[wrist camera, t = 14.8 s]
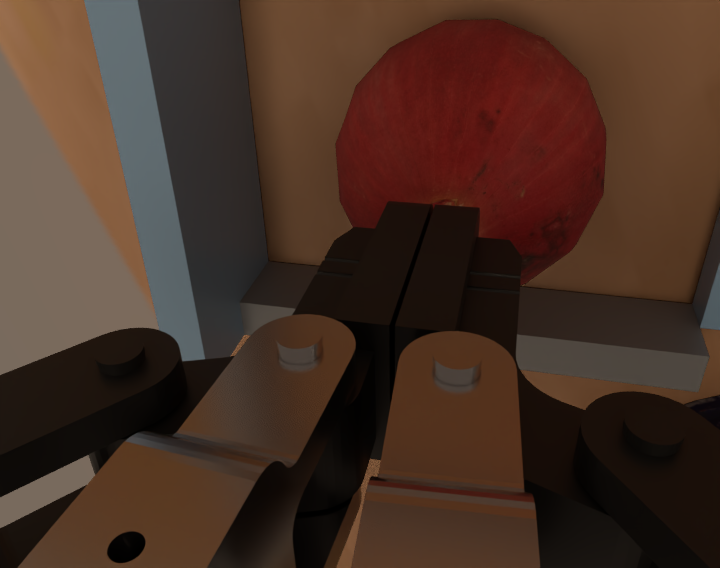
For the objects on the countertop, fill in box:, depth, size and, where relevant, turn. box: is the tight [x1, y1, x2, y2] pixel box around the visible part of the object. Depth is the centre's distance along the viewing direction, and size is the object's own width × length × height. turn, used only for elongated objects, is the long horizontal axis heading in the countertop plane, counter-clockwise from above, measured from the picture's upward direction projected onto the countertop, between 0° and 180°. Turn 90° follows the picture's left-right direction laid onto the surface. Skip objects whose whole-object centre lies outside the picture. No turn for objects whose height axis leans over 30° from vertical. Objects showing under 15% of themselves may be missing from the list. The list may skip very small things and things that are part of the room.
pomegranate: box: [335, 19, 606, 285], centre depth 14 cm, size 6×6×8 cm
